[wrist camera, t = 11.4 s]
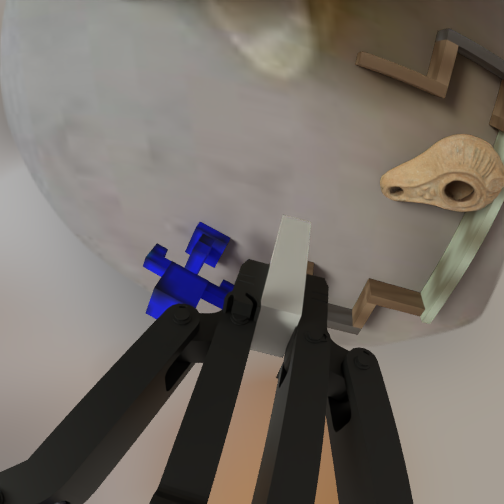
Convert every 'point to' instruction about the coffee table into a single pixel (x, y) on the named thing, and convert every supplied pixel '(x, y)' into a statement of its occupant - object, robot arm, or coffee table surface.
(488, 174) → the pottery oil lamp
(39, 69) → the coffee table surface
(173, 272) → the figurine
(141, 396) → the robot arm
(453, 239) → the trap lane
